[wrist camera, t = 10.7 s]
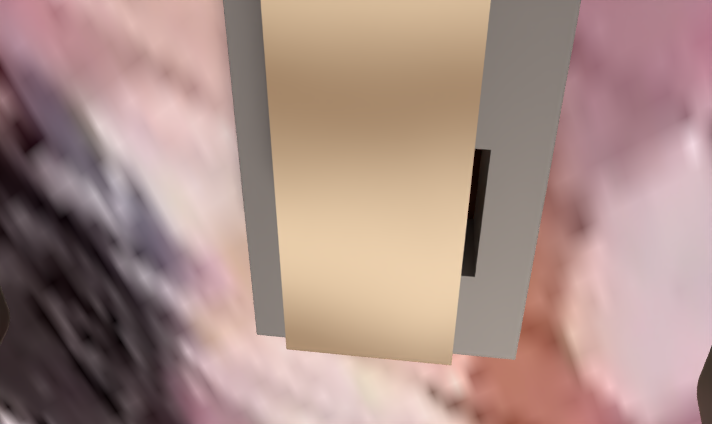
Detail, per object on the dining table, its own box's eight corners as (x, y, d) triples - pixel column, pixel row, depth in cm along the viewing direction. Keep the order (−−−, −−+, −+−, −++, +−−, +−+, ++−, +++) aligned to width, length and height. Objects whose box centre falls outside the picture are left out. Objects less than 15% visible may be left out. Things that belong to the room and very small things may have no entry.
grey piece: (509, 295, 23) (515, 359, 20) (278, 276, 24) (256, 334, 21) (627, -421, 13) (666, -468, 11) (228, -410, 14) (177, -452, 11)
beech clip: (454, 217, 21) (451, 365, 16) (330, 208, 22) (286, 349, 16) (497, -235, 15) (517, -246, 9) (320, -235, 15) (242, -245, 10)
